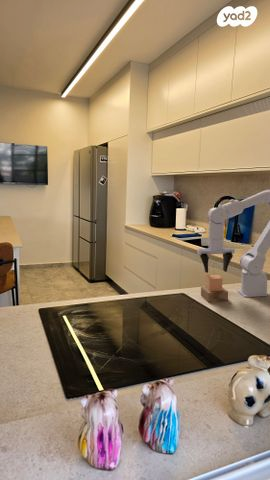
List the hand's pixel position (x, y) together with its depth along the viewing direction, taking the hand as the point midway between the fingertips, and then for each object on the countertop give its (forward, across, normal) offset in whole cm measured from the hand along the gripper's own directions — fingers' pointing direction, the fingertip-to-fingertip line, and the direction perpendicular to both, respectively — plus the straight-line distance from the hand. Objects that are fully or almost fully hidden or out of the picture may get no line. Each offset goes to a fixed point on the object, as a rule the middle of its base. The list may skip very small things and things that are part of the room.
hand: (215, 271), depth 132 cm
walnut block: (+10, -2, -3) cm, 11 cm away
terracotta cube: (+6, -2, -3) cm, 7 cm away
